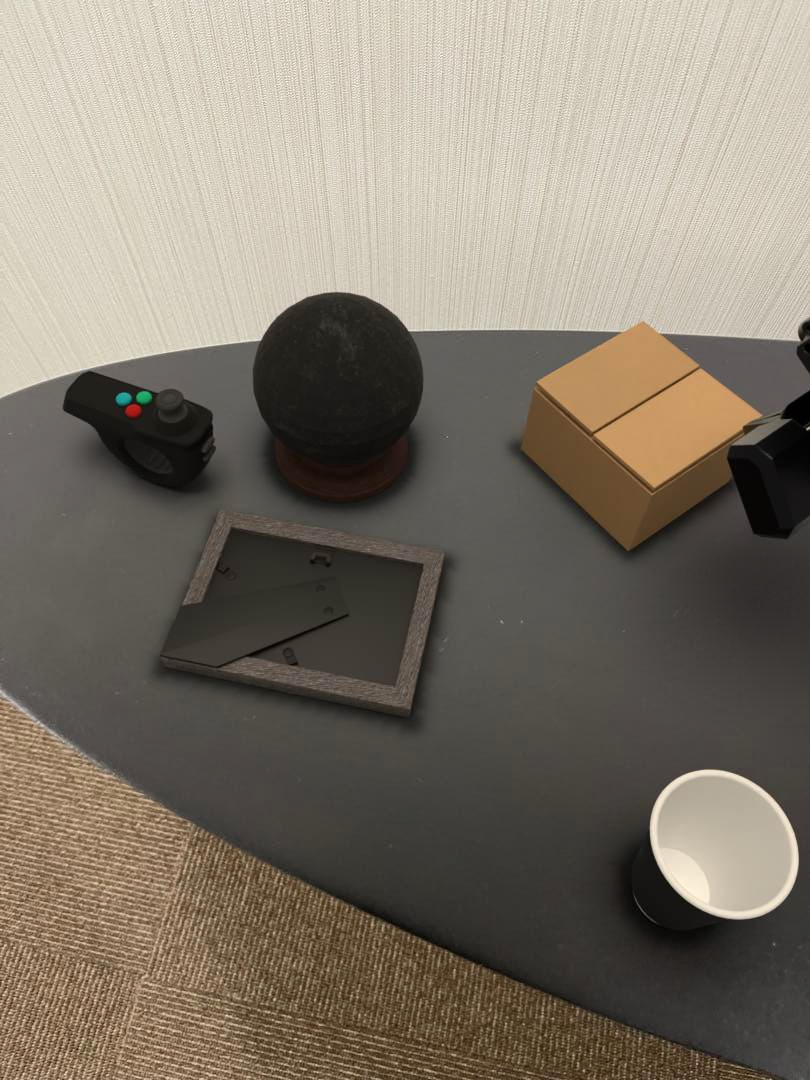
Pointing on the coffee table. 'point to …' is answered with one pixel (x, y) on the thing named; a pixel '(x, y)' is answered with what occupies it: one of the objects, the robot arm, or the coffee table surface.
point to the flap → (676, 428)
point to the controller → (145, 427)
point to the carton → (594, 403)
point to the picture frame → (308, 612)
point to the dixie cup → (714, 853)
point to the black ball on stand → (338, 394)
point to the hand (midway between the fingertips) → (747, 430)
